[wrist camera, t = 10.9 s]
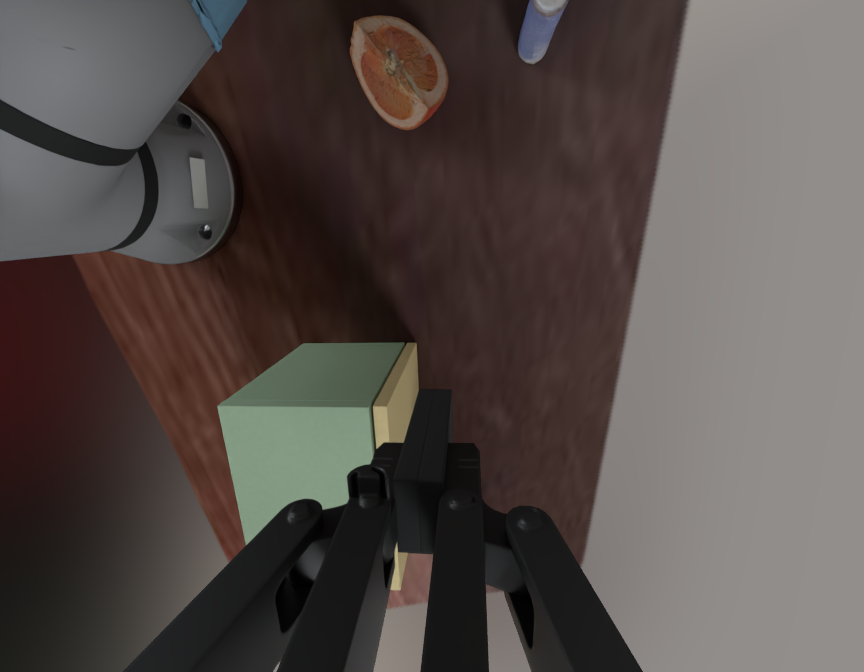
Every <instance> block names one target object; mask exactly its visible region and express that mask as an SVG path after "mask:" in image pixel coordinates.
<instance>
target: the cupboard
mask: <svg viewBox="0 0 864 672" xmlns="http://www.w3.org/2000/svg"><path fill="white" fill-rule="evenodd" d="M404 348H405V343H404V342H400V343H303V344H302V345H300V346H299V347H298V348H296V349H295V350H294V351H292V352H291V353H290V354H288V355H287V356H285V357H284V358H283V359H281V360H280V361H279V362H277V363H276V364H275V365H273V366H272V367H270V368H269V369H268V370H266V371H265V372H264V373H262V374H261V375H259V376H258V377H257V378H255V379H254V380H253V381H251V382H250V383H249V384H247V385H246V386H244V387H243V388H242V389H240V390H239V391H238V392H236V393H235V394H233V395H232V396H231V397H229V398H228V399H227V400H225V401H224V402H222V403H221V404H219V405H218V406H217V407H218V412H219V416H220V421H221V426H222V431H223V436H224V441H225V445H226V450H227V455H228V460H229V465H230V470H231V474H232V479H233V484H234V489H235V494H236V499H237V503H238V508H239V513H240V518H241V523H242V528H243V532H244V537H245V542H246V545H247V544H248V543H249V542H250V541H251V540H252V539H253V538H254V537H255V536H256V535H257V534H258V533H259V532H260V531H261V530H262V529H263V528H264V527H265V526H266V525H267V524H268V523H269V522H270V521H271V520H272V519H273V518H274V517H275V516H276V515H277V514H278V512H279V511H280V510H281V509H283V508H284V507H285V506H286V505H288V504H289V503H292V502H294V501H296V500H301V499H314V500H316V501H318V502H319V503H320V504H321V505H322V509H323V510H324V509H329V508H334V507H338V506H341V505H344V504H346V503H347V502H348V500H349V493H348V484H347V475H348V474H349V473H350V471H352V470H353V469H355V468H356V467H359V466H362V465H367V464H370V463H371V461H372V460H373V456H374V453H375V451H376V440H375V428H374V416H373V405H374V403H375V401H376V399H377V398H378V396H379V394H380V392H381V390H382V388H383V387H384V385H385V383H386V381H387V379H388V377H389V375H390V374H391V372H392V370H393V368H394V366H395V364H396V363H397V361H398V359H399V357H400V355H401V353H402V351H403V350H404Z"/></svg>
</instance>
